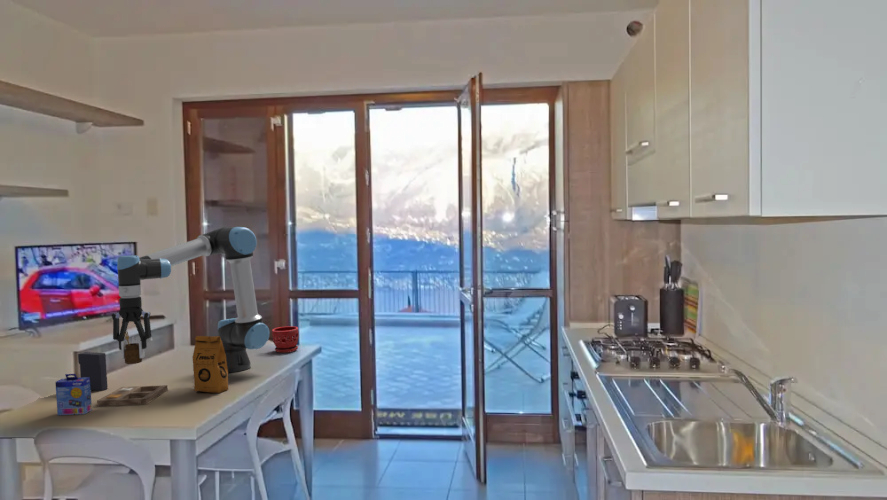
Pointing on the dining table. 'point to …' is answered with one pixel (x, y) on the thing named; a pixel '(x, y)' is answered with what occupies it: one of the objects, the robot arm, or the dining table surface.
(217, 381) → the coffee package
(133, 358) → the utensil holder
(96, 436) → the dining table surface
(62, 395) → the ink cartridge box
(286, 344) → the plant pot
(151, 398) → the socket board
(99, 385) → the black boxy piece
